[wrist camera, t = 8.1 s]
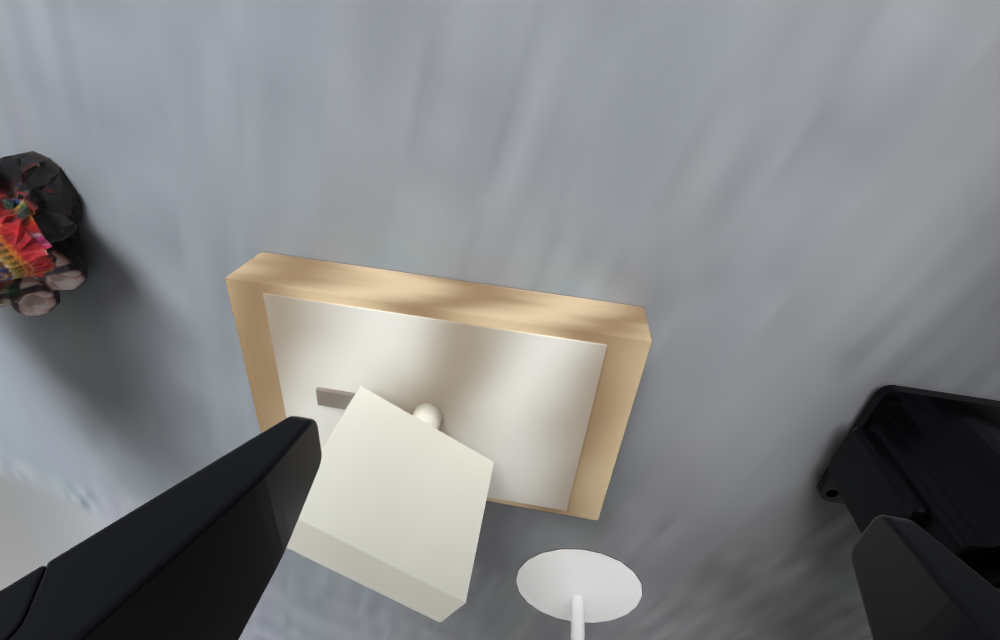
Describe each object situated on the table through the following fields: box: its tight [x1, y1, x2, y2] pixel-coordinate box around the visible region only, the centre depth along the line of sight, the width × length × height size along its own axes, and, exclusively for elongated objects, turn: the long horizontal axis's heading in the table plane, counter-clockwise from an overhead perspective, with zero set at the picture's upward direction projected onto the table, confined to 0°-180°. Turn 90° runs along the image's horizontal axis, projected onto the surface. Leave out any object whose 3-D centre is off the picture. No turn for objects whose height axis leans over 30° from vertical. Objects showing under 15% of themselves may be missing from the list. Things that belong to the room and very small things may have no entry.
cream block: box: [286, 386, 494, 623], centre depth 19 cm, size 6×6×7 cm
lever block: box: [225, 252, 652, 520], centre depth 22 cm, size 16×10×3 cm, turn 84°
